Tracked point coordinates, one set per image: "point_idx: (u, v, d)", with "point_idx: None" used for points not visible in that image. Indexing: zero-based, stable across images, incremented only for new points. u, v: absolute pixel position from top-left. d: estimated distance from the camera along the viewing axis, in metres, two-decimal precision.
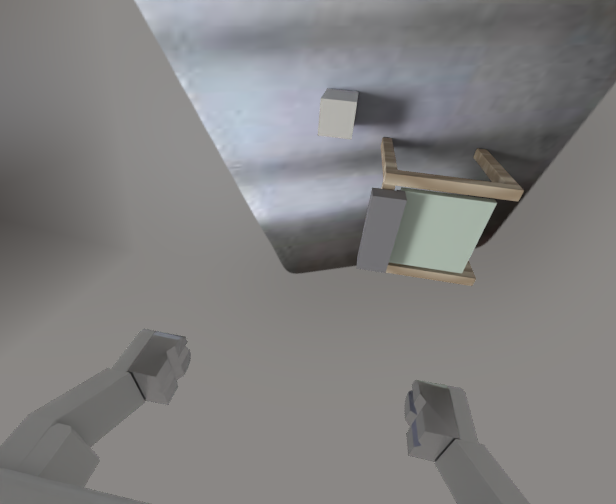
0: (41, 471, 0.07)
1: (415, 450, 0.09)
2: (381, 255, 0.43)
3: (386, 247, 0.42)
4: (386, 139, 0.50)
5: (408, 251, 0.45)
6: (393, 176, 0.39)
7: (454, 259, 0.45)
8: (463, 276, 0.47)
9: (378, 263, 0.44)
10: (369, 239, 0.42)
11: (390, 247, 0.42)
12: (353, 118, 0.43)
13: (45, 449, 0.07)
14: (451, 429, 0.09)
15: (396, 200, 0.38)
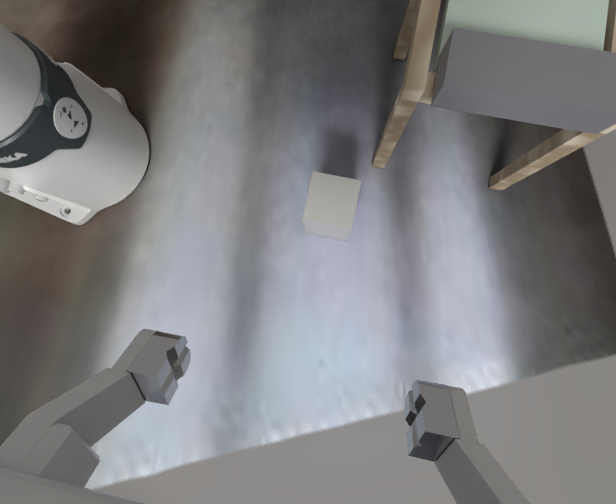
0: (41, 471, 0.07)
1: (415, 450, 0.09)
2: (585, 64, 0.20)
3: (564, 57, 0.20)
4: (373, 158, 0.38)
5: (568, 42, 0.23)
6: (411, 76, 0.24)
7: None
8: None
9: (610, 70, 0.20)
10: (545, 88, 0.20)
11: (563, 49, 0.20)
12: (333, 176, 0.31)
13: (45, 449, 0.07)
14: (451, 429, 0.09)
15: (453, 45, 0.21)
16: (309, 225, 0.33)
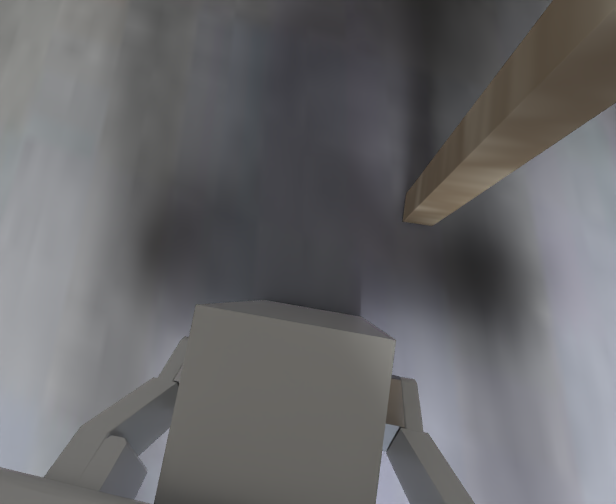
0: (101, 485, 0.07)
1: None
2: None
3: None
4: (409, 205, 0.15)
5: None
6: None
7: None
8: None
9: None
10: None
11: None
12: (276, 325, 0.07)
13: (102, 463, 0.07)
14: (398, 418, 0.09)
15: None
16: None
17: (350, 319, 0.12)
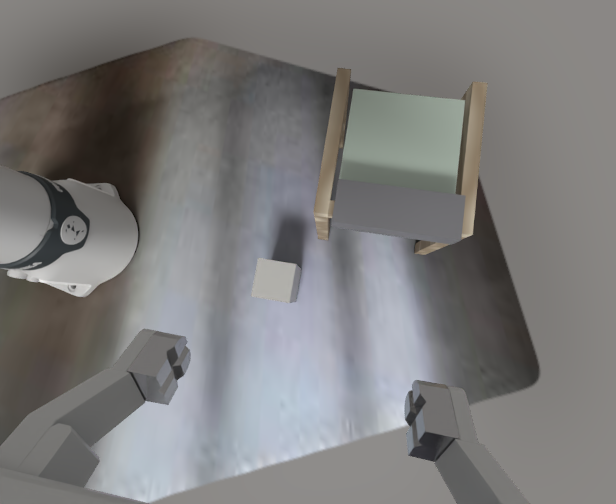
0: (41, 471, 0.07)
1: (415, 450, 0.09)
2: (430, 203, 0.29)
3: (415, 198, 0.29)
4: None
5: (431, 173, 0.32)
6: (318, 203, 0.32)
7: (440, 114, 0.33)
8: (471, 97, 0.33)
9: (447, 207, 0.28)
10: (402, 222, 0.28)
11: (414, 192, 0.29)
12: (273, 261, 0.39)
13: (45, 449, 0.07)
14: (451, 429, 0.09)
15: (338, 191, 0.29)
16: None
17: None
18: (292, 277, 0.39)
